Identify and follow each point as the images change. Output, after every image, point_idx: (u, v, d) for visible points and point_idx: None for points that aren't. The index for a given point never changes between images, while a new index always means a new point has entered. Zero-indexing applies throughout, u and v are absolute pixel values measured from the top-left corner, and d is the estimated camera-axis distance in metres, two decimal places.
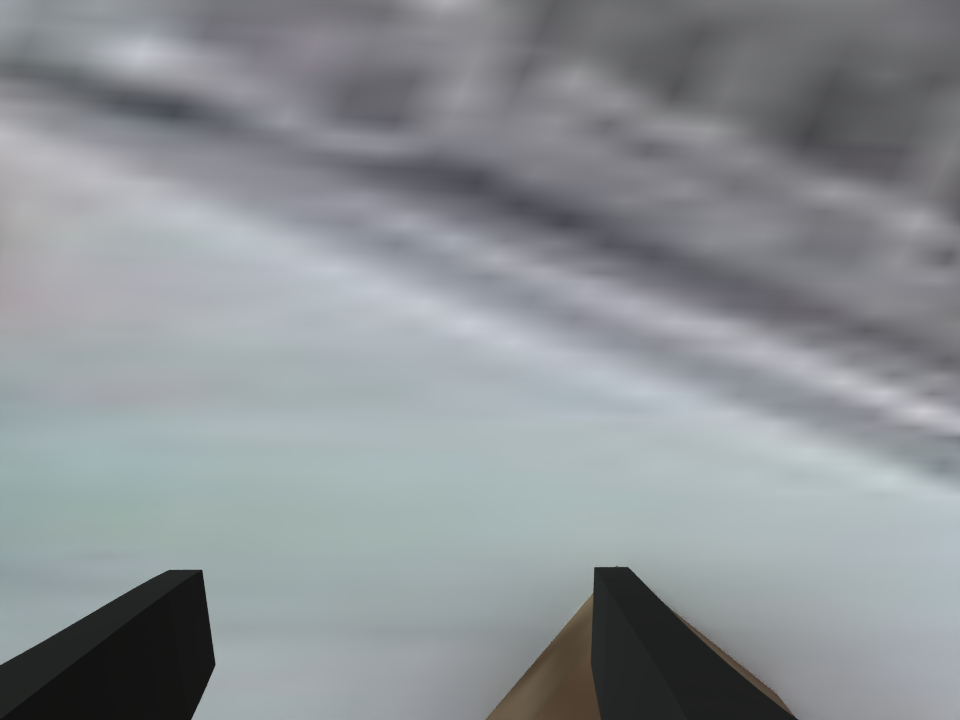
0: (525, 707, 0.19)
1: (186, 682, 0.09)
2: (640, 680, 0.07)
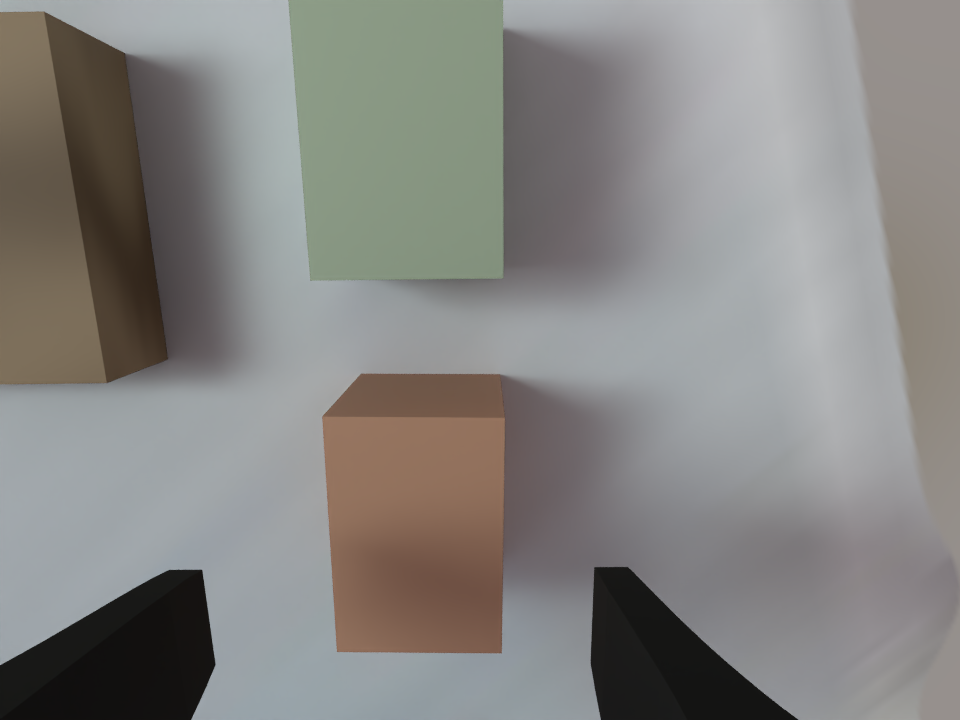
0: None
1: (186, 682, 0.09)
2: (640, 680, 0.07)
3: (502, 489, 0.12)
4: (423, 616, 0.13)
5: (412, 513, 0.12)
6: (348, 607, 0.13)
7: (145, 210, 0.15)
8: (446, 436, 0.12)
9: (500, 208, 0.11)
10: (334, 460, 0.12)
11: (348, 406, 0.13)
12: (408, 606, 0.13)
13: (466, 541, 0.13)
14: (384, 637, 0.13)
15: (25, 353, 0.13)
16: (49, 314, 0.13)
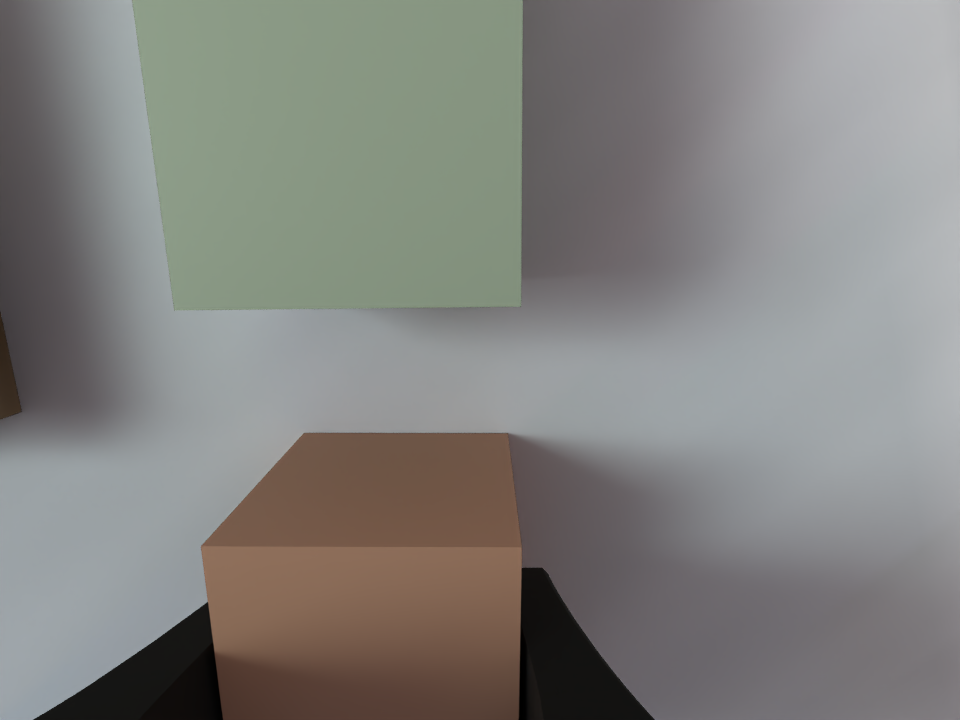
0: None
1: None
2: (526, 681, 0.07)
3: (517, 663, 0.07)
4: None
5: (362, 701, 0.07)
6: None
7: None
8: (419, 578, 0.07)
9: (516, 179, 0.06)
10: (226, 617, 0.07)
11: (255, 517, 0.07)
12: None
13: None
14: None
15: None
16: None
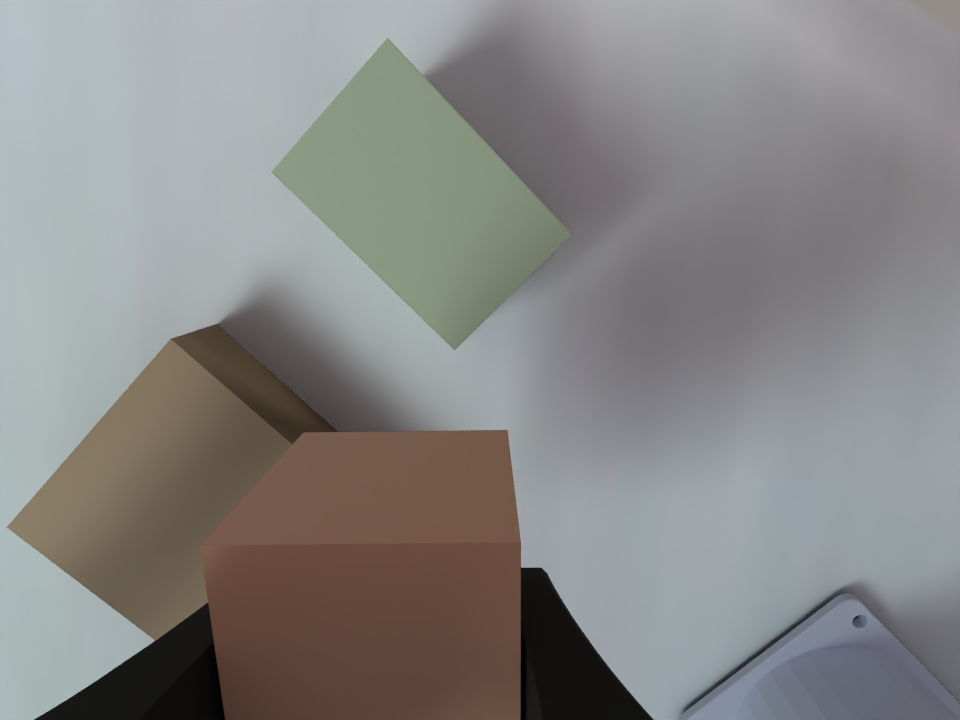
0: None
1: None
2: (525, 680, 0.07)
3: (517, 658, 0.07)
4: None
5: (364, 699, 0.07)
6: None
7: (308, 406, 0.18)
8: (418, 574, 0.07)
9: (529, 193, 0.13)
10: (226, 616, 0.07)
11: (254, 516, 0.07)
12: None
13: None
14: None
15: None
16: None
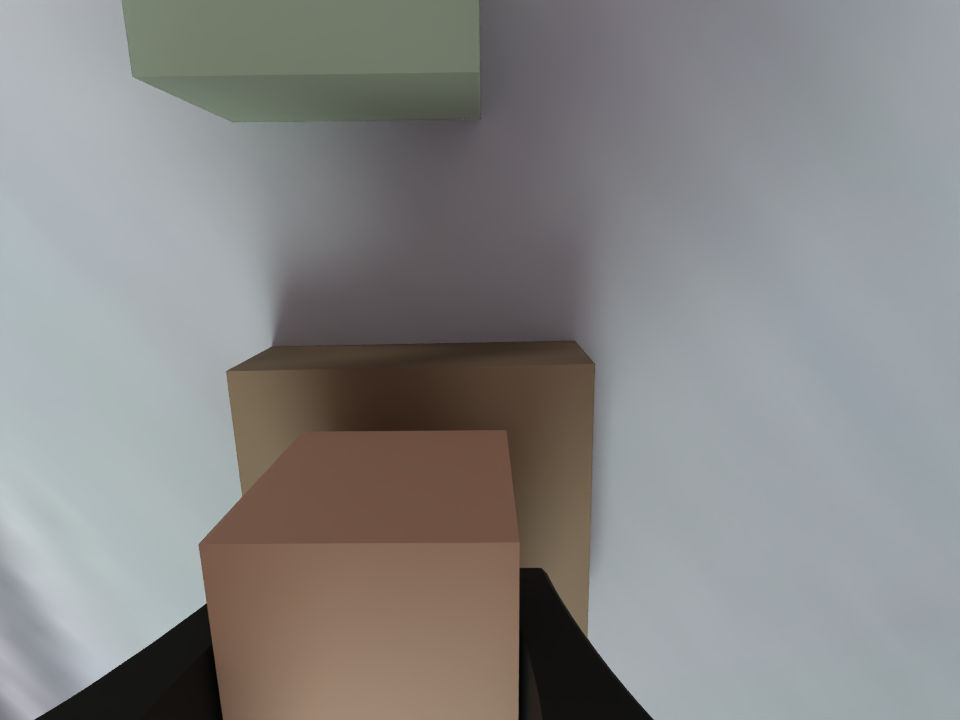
0: None
1: None
2: (525, 680, 0.07)
3: (516, 658, 0.07)
4: None
5: (362, 697, 0.07)
6: None
7: (417, 344, 0.14)
8: (418, 573, 0.07)
9: None
10: (224, 615, 0.07)
11: (253, 514, 0.07)
12: None
13: None
14: None
15: (559, 443, 0.12)
16: (517, 413, 0.12)
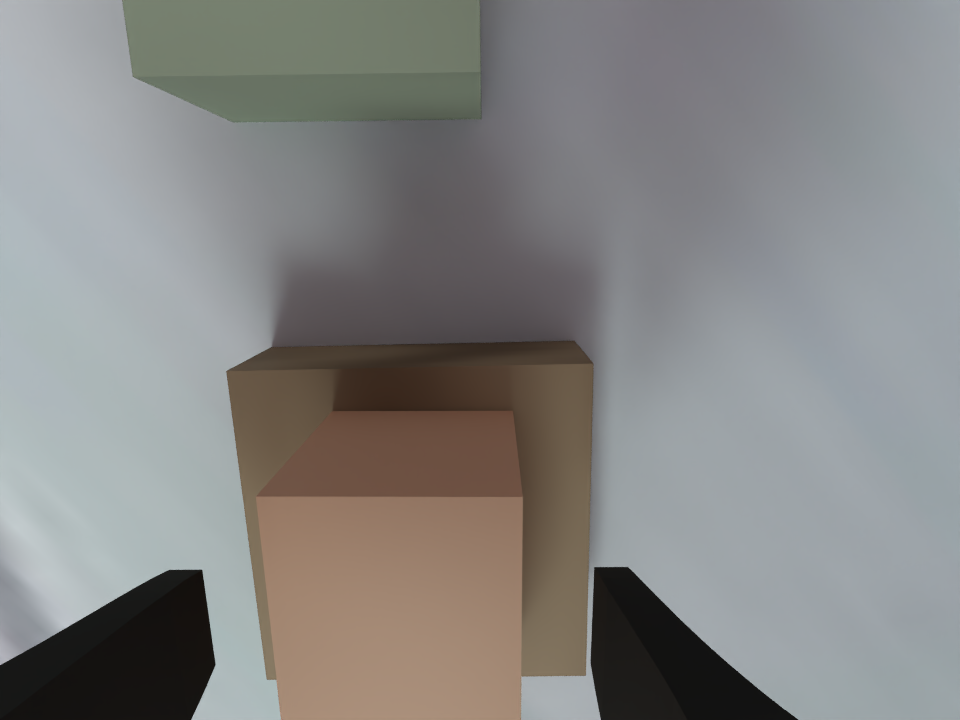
0: None
1: (186, 682, 0.09)
2: (640, 680, 0.07)
3: (519, 596, 0.08)
4: None
5: (390, 629, 0.09)
6: None
7: (417, 344, 0.14)
8: (437, 523, 0.08)
9: None
10: (276, 557, 0.08)
11: (298, 475, 0.09)
12: None
13: (468, 667, 0.09)
14: None
15: (558, 443, 0.12)
16: (516, 412, 0.12)
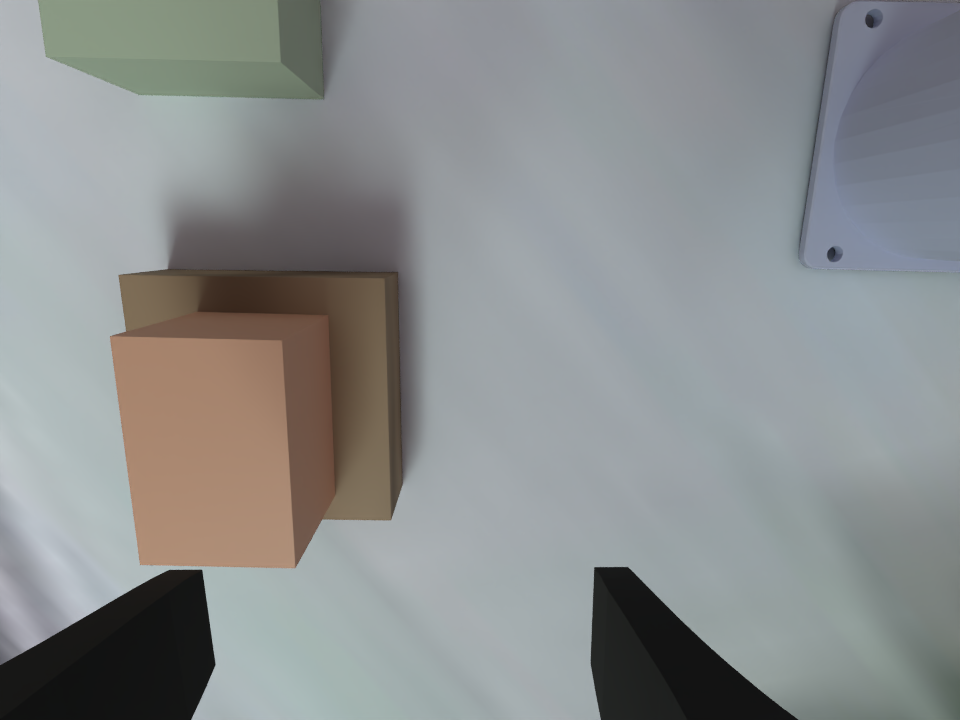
0: None
1: (186, 682, 0.09)
2: (640, 680, 0.07)
3: (284, 409, 0.13)
4: (219, 531, 0.14)
5: (201, 431, 0.13)
6: (147, 521, 0.14)
7: None
8: (228, 357, 0.13)
9: None
10: (124, 378, 0.13)
11: (144, 331, 0.13)
12: (204, 520, 0.14)
13: (255, 459, 0.13)
14: (184, 551, 0.14)
15: (361, 337, 0.17)
16: (330, 313, 0.17)
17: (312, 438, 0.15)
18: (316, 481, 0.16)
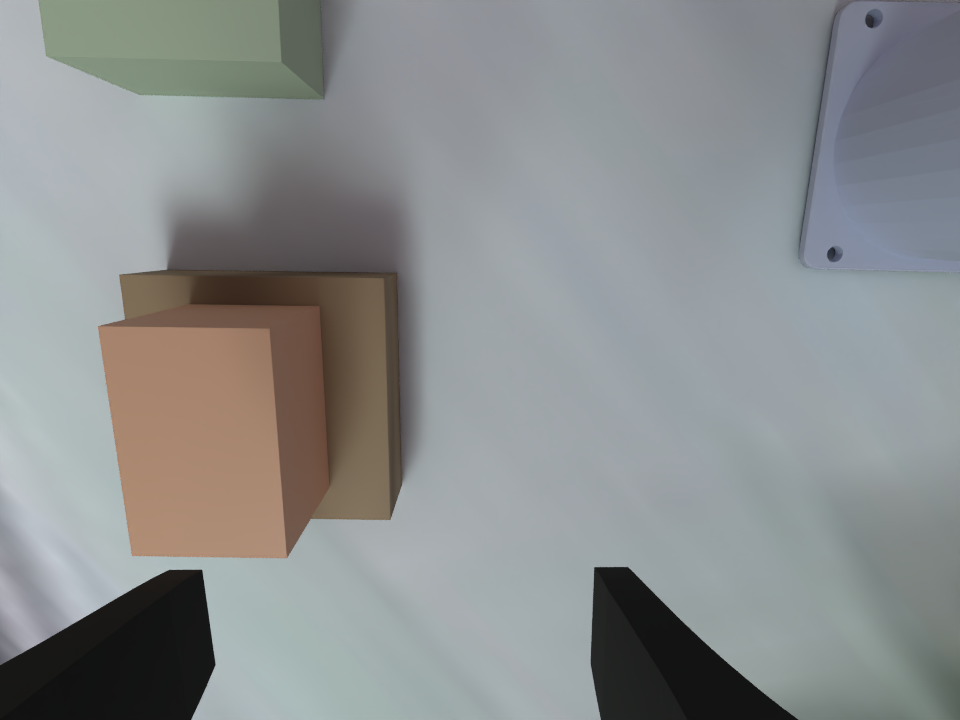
0: None
1: (186, 682, 0.09)
2: (640, 680, 0.07)
3: (273, 398, 0.13)
4: (210, 521, 0.14)
5: (190, 421, 0.13)
6: (138, 512, 0.14)
7: None
8: (216, 345, 0.13)
9: None
10: (113, 369, 0.13)
11: (133, 321, 0.13)
12: (194, 511, 0.14)
13: (244, 448, 0.13)
14: (175, 542, 0.14)
15: (361, 337, 0.17)
16: (330, 312, 0.17)
17: (304, 429, 0.15)
18: (309, 472, 0.16)
